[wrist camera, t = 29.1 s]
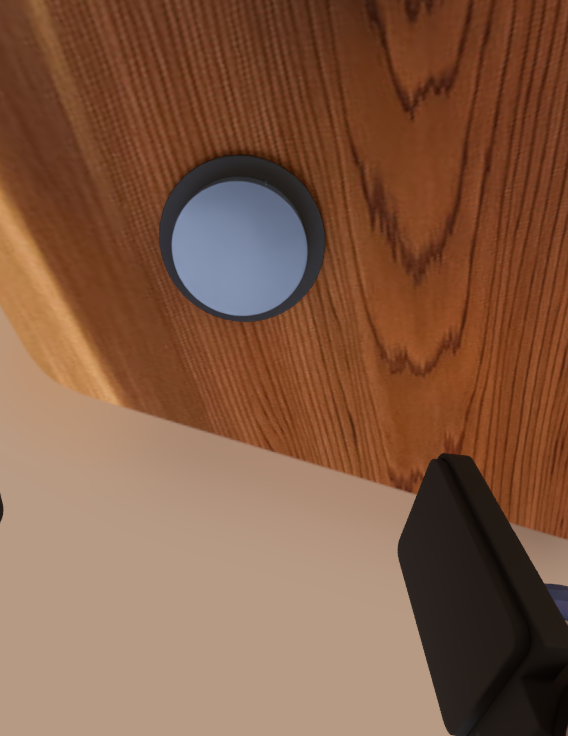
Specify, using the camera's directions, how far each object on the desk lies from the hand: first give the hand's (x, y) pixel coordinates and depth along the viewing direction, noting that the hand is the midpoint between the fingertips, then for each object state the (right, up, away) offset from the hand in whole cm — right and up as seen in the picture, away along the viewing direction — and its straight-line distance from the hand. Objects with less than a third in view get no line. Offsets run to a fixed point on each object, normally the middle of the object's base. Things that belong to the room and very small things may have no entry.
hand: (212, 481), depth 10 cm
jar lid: (-1, +8, +14) cm, 16 cm away
